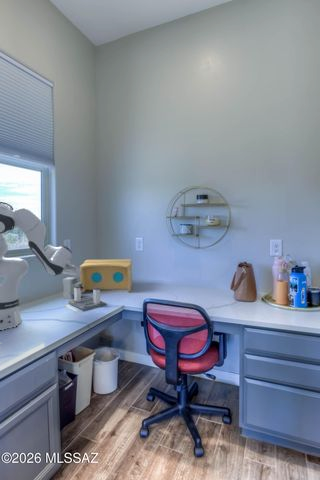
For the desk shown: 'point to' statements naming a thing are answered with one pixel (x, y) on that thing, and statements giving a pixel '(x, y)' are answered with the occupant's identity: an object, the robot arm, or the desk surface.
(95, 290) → the toggle front
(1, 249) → the robot arm
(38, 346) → the desk surface
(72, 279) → the circuit breaker
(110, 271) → the cardboard box
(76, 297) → the toggle rear
